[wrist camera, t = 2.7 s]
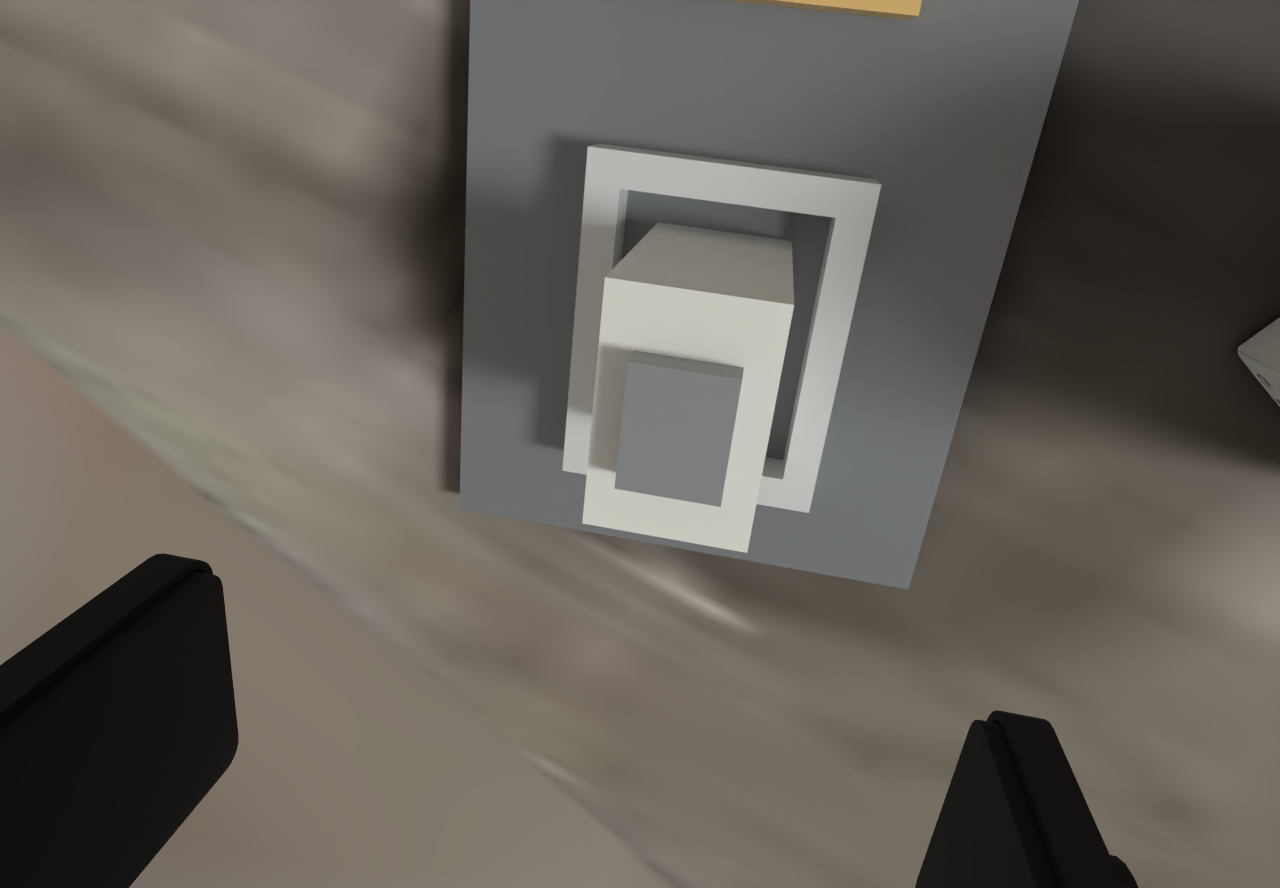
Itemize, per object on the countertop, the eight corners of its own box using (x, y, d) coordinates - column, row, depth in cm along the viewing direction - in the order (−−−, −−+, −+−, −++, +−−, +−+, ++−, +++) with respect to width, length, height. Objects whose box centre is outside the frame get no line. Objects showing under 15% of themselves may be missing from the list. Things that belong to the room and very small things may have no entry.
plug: (791, 240, 24) (794, 314, 16) (757, 427, 27) (745, 571, 19) (658, 222, 25) (597, 285, 17) (636, 407, 27) (574, 539, 19)
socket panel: (1258, -668, 17) (1332, -787, 14) (904, 573, 29) (914, 614, 27) (500, -685, 18) (460, -794, 16) (469, 496, 31) (443, 528, 28)
